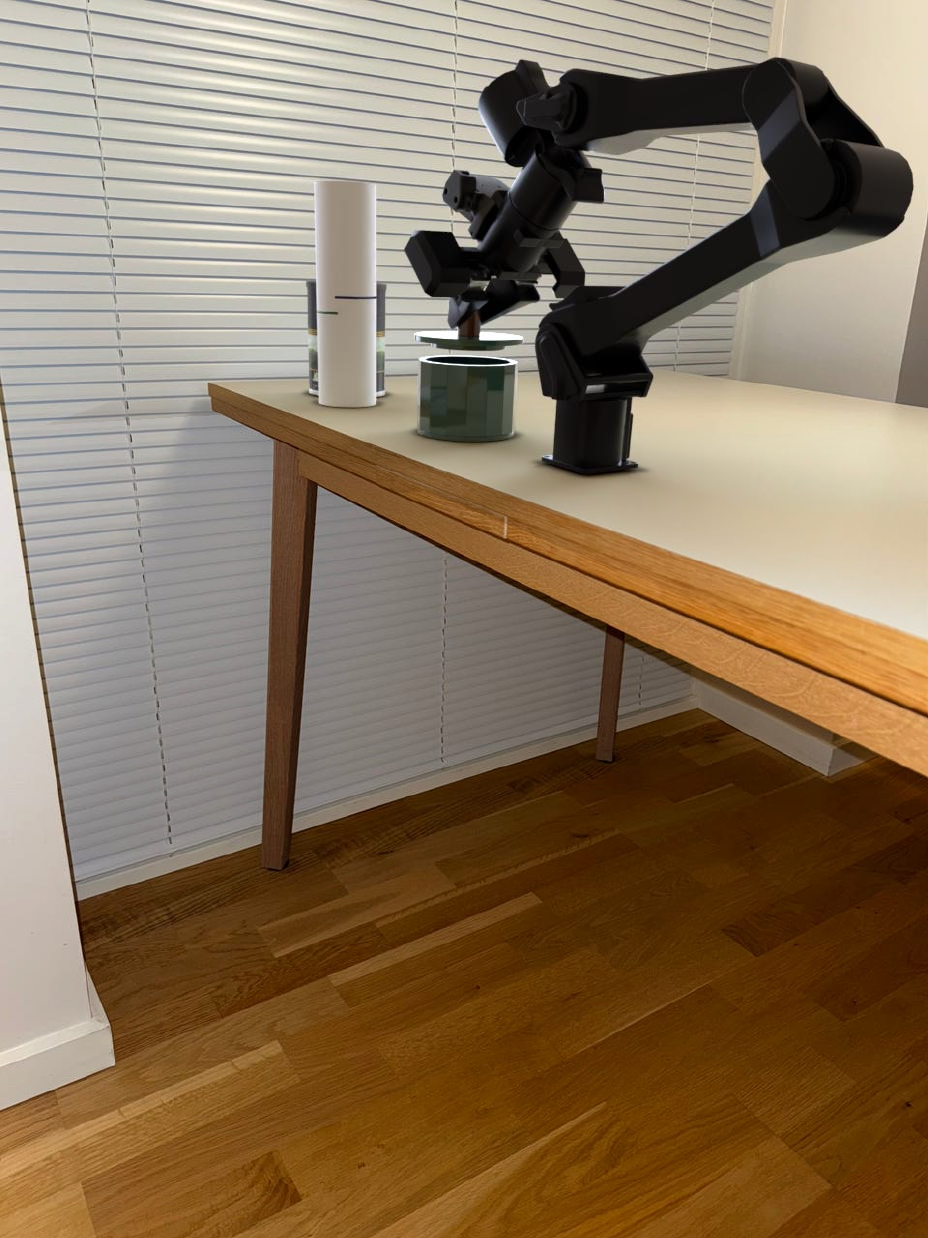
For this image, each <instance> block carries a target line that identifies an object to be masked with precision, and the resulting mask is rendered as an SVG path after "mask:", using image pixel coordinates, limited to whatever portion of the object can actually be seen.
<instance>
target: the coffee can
mask: <svg viewBox="0 0 928 1238" xmlns="http://www.w3.org/2000/svg"><path fill="white" fill-rule="evenodd" d="M387 285H388V284H387V283H382V282H376V296H375V297H365V298H376V398H381V397H383V396H385V395H386V388H385V387H386V294H387V293H386V291H387V287H388V286H387ZM305 287H306V289H307V294H306V295H307V340H308V345H307V346H308V379H309V380H308V384H309V385H308V386H309V389H308V393H309V394H310V395H313V396H317V397H319V388H318V341H317V312H327V311H318V310H317V294H316V279H314V280H306V281H305ZM343 297H351V296H343Z"/></svg>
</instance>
